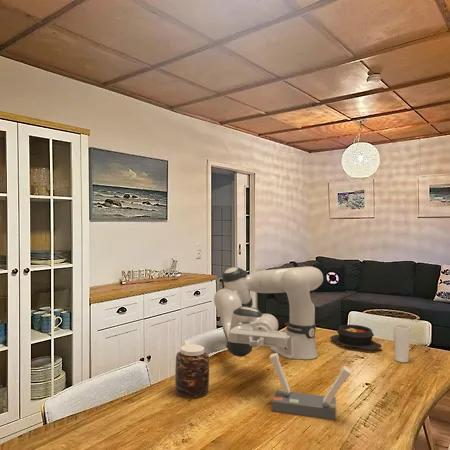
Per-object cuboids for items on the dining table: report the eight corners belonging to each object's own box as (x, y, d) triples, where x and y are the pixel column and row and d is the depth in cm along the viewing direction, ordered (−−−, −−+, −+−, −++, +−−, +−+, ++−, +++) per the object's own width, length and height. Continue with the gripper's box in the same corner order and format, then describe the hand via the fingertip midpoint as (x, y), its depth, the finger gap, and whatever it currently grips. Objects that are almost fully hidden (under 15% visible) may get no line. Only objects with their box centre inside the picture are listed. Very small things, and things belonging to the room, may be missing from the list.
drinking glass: (412, 364, 169) (412, 328, 169) (394, 362, 171) (395, 327, 171) (408, 359, 176) (408, 324, 176) (391, 357, 177) (392, 323, 177)
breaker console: (276, 399, 134) (276, 389, 134) (335, 406, 129) (335, 397, 129) (272, 411, 125) (272, 401, 125) (335, 420, 120) (335, 409, 120)
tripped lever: (285, 392, 132) (271, 354, 133) (292, 391, 131) (277, 352, 132) (284, 397, 128) (269, 357, 130) (290, 395, 128) (275, 355, 129)
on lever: (321, 399, 125) (343, 365, 123) (327, 403, 124) (350, 369, 122) (320, 404, 121) (344, 369, 119) (327, 409, 121) (350, 373, 119)
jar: (213, 387, 142) (214, 345, 142) (201, 401, 131) (201, 355, 131) (183, 382, 146) (184, 341, 146) (168, 395, 135) (169, 350, 135)
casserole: (389, 348, 191) (389, 331, 191) (367, 356, 179) (367, 337, 179) (344, 336, 210) (344, 320, 210) (321, 342, 199) (322, 325, 199)
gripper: (290, 344, 142) (285, 357, 129) (234, 339, 148) (224, 350, 134) (291, 327, 142) (285, 337, 129) (234, 322, 148) (224, 331, 134)
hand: (253, 343), depth 132 cm, fingers closed
